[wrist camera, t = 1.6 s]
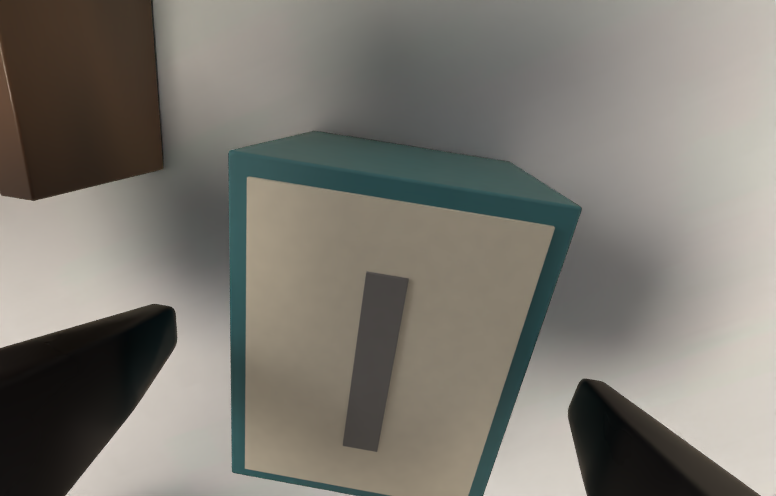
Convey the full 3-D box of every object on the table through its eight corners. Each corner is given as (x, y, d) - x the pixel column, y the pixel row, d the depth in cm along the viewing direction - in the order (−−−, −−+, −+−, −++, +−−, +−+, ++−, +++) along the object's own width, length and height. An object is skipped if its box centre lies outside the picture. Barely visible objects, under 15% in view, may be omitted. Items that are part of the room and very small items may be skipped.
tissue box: (456, 371, 14) (476, 525, 9) (298, 343, 15) (228, 479, 9) (511, 161, 11) (588, 209, 6) (312, 130, 12) (222, 150, 6)
